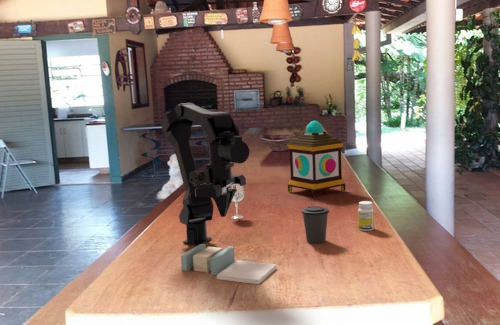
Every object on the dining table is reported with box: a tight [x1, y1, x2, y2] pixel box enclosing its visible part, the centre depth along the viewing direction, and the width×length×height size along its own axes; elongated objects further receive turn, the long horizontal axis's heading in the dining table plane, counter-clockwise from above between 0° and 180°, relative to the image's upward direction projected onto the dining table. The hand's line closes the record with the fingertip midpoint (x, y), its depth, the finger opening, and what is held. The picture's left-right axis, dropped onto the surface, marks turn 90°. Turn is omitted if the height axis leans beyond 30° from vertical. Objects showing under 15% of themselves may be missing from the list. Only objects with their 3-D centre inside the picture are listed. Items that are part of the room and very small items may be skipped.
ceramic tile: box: [216, 259, 278, 285], centre depth 128 cm, size 11×11×1 cm
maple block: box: [193, 246, 223, 273], centre depth 135 cm, size 8×4×4 cm, turn 154°
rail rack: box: [180, 243, 236, 276], centre depth 135 cm, size 10×10×4 cm
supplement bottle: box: [357, 200, 375, 232], centre depth 161 cm, size 5×5×8 cm
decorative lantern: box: [286, 120, 346, 199], centre depth 218 cm, size 20×20×30 cm
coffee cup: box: [300, 205, 330, 245], centre depth 151 cm, size 8×8×10 cm
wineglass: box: [230, 184, 245, 220], centre depth 183 cm, size 6×6×12 cm
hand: (223, 216), depth 142 cm, fingers closed
